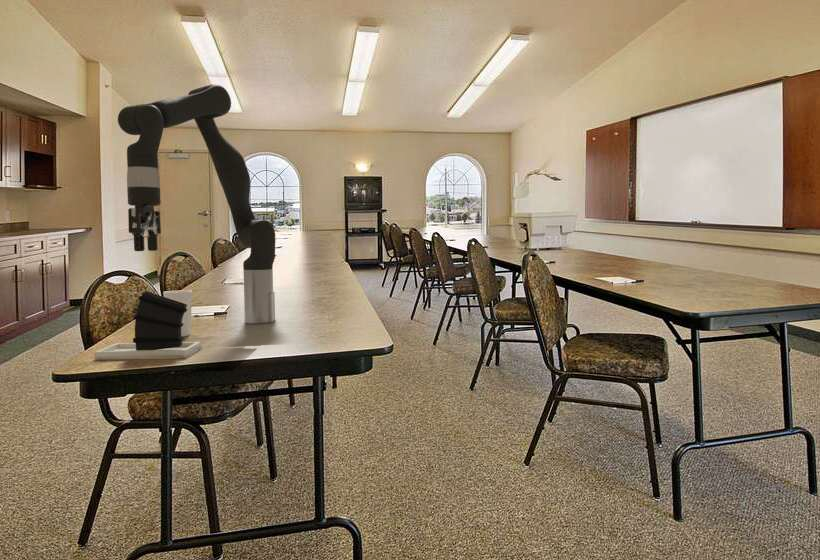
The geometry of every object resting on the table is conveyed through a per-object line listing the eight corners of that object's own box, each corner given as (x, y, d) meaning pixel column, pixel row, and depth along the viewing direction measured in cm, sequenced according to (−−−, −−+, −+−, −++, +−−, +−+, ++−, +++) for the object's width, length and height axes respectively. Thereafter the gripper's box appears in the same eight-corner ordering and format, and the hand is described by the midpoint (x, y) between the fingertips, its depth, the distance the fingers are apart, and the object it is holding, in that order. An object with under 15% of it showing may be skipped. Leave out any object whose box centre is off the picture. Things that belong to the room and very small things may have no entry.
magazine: (126, 345, 148) (145, 290, 148) (176, 360, 150) (195, 307, 150) (121, 347, 144) (140, 291, 144) (173, 363, 146) (192, 308, 146)
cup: (158, 340, 167) (156, 292, 166) (178, 336, 174) (176, 289, 174) (180, 342, 164) (178, 292, 163) (200, 337, 172) (198, 290, 171)
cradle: (201, 349, 154) (200, 341, 153) (186, 358, 142) (186, 350, 141) (116, 350, 152) (116, 343, 152) (94, 359, 140) (94, 351, 140)
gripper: (147, 183, 137) (150, 251, 138) (169, 189, 151) (171, 250, 152) (115, 183, 137) (118, 251, 138) (140, 189, 151) (142, 250, 152)
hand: (146, 250), depth 145 cm, fingers open, 8 cm apart
